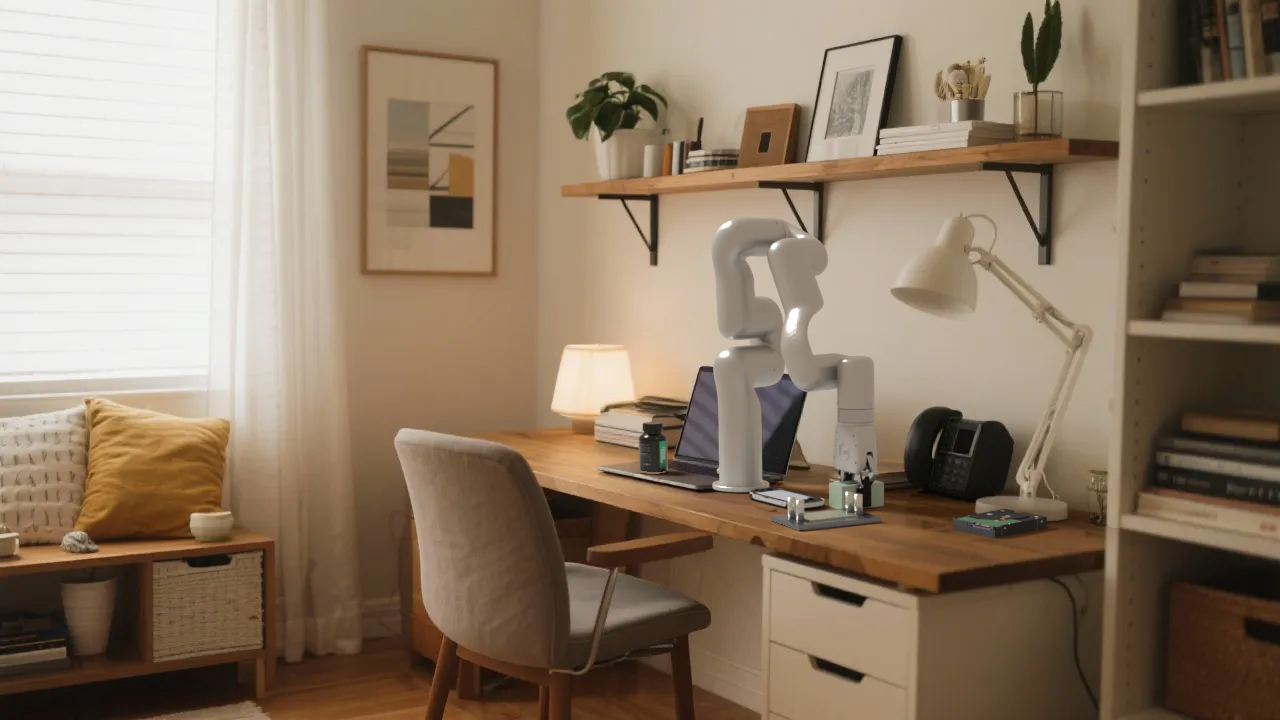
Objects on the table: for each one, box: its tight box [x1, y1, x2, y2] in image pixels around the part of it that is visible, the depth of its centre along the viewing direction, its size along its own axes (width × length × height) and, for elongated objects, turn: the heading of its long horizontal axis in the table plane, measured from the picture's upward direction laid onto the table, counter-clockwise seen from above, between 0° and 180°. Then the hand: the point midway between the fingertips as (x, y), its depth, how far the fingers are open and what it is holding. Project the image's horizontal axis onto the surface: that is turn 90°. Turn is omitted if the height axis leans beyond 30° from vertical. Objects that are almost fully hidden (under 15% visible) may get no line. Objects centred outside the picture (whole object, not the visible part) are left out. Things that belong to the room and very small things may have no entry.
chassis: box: [770, 491, 882, 532], centre depth 259 cm, size 11×18×5 cm, turn 113°
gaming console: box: [749, 486, 825, 511], centre depth 279 cm, size 19×9×2 cm, turn 29°
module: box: [828, 479, 885, 509], centre depth 274 cm, size 5×10×5 cm, turn 113°
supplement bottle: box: [638, 421, 669, 472], centre depth 321 cm, size 7×7×12 cm
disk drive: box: [952, 508, 1048, 539], centre depth 249 cm, size 10×3×15 cm
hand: (856, 503), depth 274 cm, fingers closed on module, 5 cm apart
